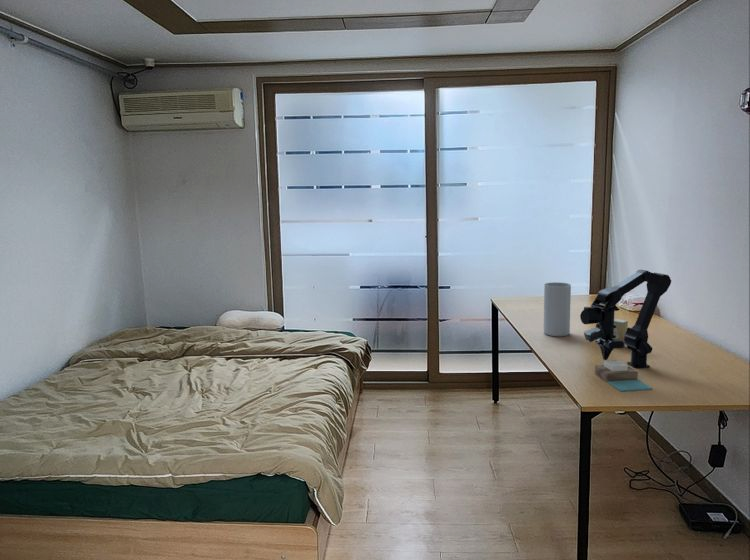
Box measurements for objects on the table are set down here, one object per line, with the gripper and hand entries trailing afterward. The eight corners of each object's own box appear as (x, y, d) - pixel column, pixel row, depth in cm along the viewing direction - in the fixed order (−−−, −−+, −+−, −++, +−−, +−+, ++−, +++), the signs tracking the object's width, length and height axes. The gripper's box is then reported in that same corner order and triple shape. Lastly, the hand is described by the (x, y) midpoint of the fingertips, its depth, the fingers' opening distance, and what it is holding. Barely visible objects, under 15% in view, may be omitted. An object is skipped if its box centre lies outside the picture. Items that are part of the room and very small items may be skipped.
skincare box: (608, 345, 271) (609, 320, 269) (613, 344, 274) (614, 318, 272) (622, 348, 266) (623, 322, 264) (627, 346, 269) (628, 320, 267)
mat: (607, 382, 223) (607, 381, 223) (637, 380, 224) (638, 379, 224) (620, 391, 213) (620, 390, 213) (652, 389, 214) (652, 388, 214)
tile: (603, 365, 232) (603, 360, 231) (618, 364, 232) (618, 360, 232) (612, 371, 225) (612, 366, 224) (627, 370, 225) (627, 365, 225)
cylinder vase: (572, 336, 288) (574, 286, 284) (547, 337, 289) (548, 287, 285) (565, 330, 301) (566, 282, 297) (540, 330, 301) (541, 282, 297)
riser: (594, 374, 233) (595, 365, 232) (623, 372, 234) (624, 363, 233) (607, 382, 223) (607, 373, 223) (637, 380, 224) (637, 371, 224)
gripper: (576, 317, 243) (575, 354, 245) (597, 328, 224) (596, 368, 227) (602, 316, 244) (601, 352, 246) (625, 327, 225) (624, 366, 228)
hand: (605, 359), depth 237 cm, fingers closed
